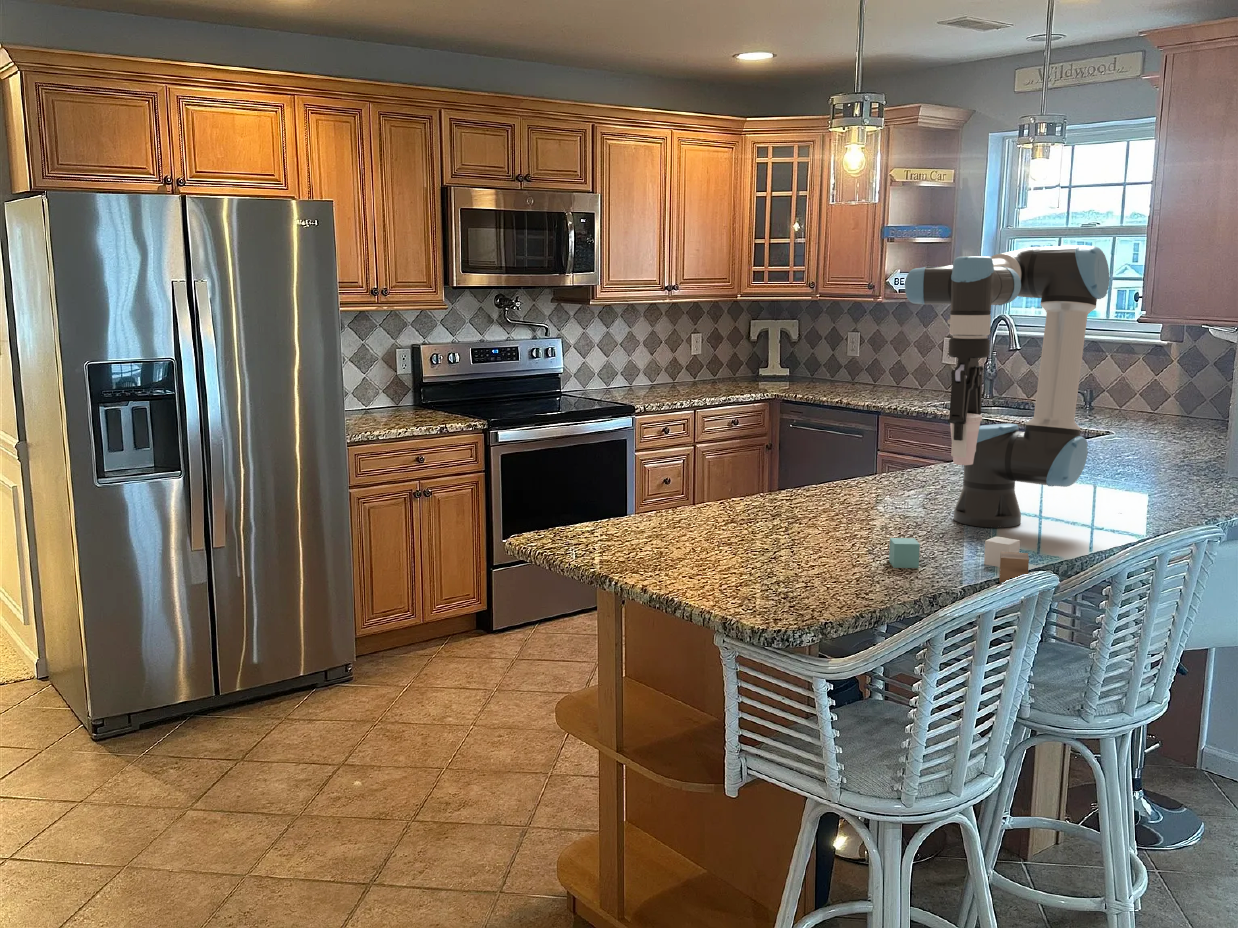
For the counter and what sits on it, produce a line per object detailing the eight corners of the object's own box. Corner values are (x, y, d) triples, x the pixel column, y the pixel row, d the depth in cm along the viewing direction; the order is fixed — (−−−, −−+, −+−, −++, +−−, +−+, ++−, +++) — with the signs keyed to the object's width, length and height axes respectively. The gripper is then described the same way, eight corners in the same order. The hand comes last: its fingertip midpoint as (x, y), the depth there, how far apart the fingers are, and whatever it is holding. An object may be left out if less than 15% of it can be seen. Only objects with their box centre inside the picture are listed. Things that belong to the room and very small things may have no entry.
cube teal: (888, 561, 220) (889, 537, 219) (913, 561, 220) (914, 538, 219) (893, 568, 215) (894, 543, 214) (918, 568, 215) (919, 544, 214)
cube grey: (995, 559, 221) (996, 536, 220) (1018, 564, 218) (1020, 540, 217) (984, 564, 218) (985, 540, 217) (1007, 569, 214) (1009, 544, 213)
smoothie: (941, 464, 212) (944, 393, 210) (953, 459, 217) (956, 390, 215) (973, 467, 209) (976, 395, 206) (984, 462, 214) (988, 392, 211)
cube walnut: (999, 576, 209) (1000, 551, 208) (1026, 578, 207) (1028, 553, 207) (999, 583, 204) (1000, 557, 203) (1027, 585, 203) (1029, 559, 202)
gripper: (964, 334, 219) (958, 446, 223) (934, 338, 203) (929, 459, 207) (1001, 335, 215) (995, 449, 218) (975, 339, 199) (969, 462, 203)
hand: (963, 453), depth 213 cm, fingers closed on smoothie, 6 cm apart
